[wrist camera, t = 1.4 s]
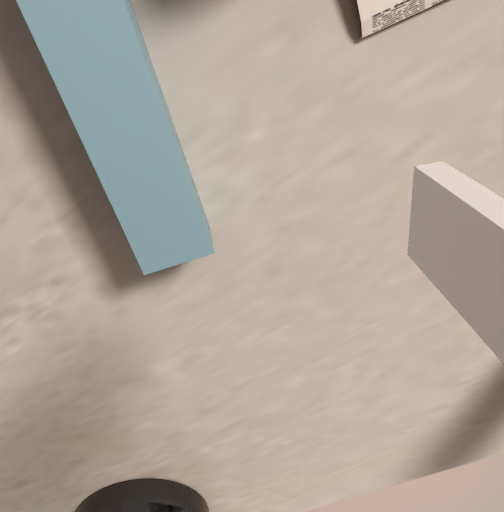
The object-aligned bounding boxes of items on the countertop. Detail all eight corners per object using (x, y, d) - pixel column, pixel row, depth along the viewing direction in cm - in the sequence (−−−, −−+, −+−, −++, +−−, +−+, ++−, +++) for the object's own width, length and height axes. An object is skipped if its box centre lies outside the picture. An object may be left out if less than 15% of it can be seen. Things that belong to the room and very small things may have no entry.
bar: (148, 244, 33) (144, 275, 29) (-6, -106, 23) (-50, -141, 18) (209, 224, 33) (214, 253, 29) (83, -133, 23) (61, -174, 18)
